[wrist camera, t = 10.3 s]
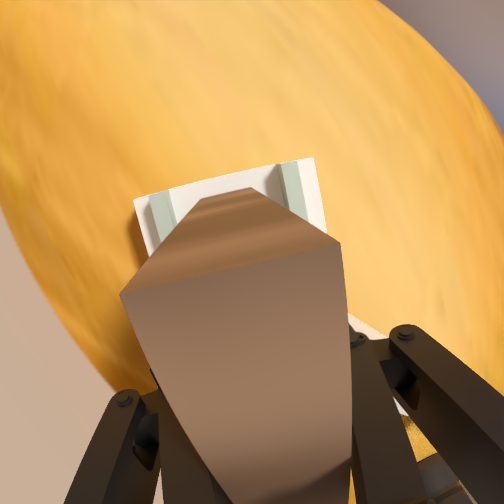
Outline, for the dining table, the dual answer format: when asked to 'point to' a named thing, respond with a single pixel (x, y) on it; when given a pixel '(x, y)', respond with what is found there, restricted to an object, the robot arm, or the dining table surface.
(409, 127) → the dining table surface
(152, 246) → the panel
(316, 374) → the brown picture frame
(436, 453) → the robot arm
